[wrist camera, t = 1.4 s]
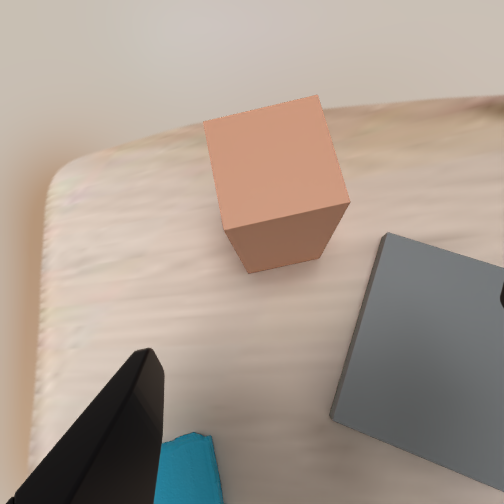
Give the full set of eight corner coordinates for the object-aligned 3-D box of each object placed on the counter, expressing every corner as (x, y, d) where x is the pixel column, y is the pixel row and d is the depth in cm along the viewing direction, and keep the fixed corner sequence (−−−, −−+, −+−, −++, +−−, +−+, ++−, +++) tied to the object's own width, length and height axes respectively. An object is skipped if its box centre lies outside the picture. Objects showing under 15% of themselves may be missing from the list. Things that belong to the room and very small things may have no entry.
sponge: (25, 465, 20) (17, 586, 18) (213, 429, 19) (227, 550, 17) (42, 459, 21) (37, 570, 19) (218, 425, 21) (232, 536, 19)
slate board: (502, 486, 18) (518, 497, 17) (329, 415, 19) (332, 420, 18) (539, 286, 20) (555, 284, 19) (382, 237, 22) (387, 232, 21)
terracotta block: (319, 258, 22) (350, 202, 12) (248, 273, 22) (223, 230, 12) (301, 192, 23) (317, 94, 13) (235, 207, 23) (203, 121, 14)
